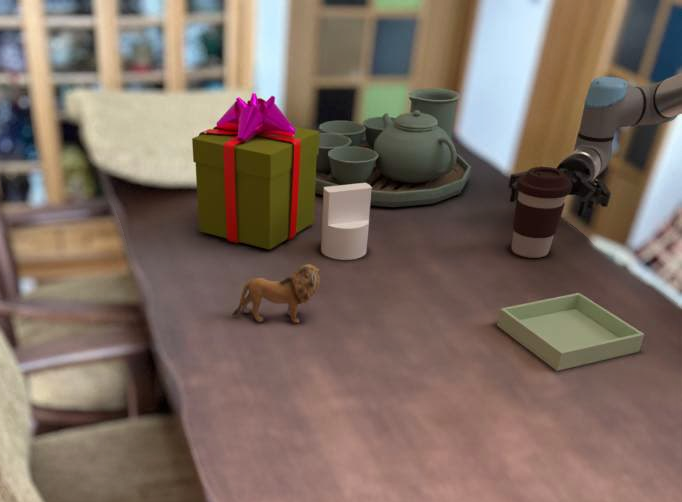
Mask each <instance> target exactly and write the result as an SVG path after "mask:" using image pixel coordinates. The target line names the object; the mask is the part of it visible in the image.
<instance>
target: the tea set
mask: <svg viewBox="0 0 682 502" xmlns="http://www.w3.org/2000/svg"><path fill="white" fill-rule="evenodd" d="M408 99H409V100H410V109H409V112H404V113H401V114H399V115H397V116H396V117H394V116H393V117H392V116H390V115H389V113H388V112H385V113H384V114H383V115H382V116H374V117H369V118H366V119H364V120H363V121H362V123H359V122H358V121H351V120H330V121H325V122H323V123H320V124H319V126H318V129H319V130H318V131H319V154H318V155H317V156H316V182H315V194H318V195H321V196H323V194H324V187H330V186H339V185H349V184H358V183H367V184H369V185H370V186H371V187H372V190H371V202H370V206H373V207H385V208H399V207H400V208H402V207H410V206H411V207H412V206H422V205H432V204H435V203H438V202H441V201H444V200H446V199H449V198H452V197H455V196H457V195H460V194H461V193H462V192H463V190H464V187H465V185H466V184H467V182H468V180H469V178H470V176H471V172H472V166H471V165H470V164H469V163H468V162H467V161H466V160H465V159H464V158H463V157H462V156H461V155H460V154H459V153H457V149H456V145H455V144H454V142H453V139H452V138H453V133H454V125H455V119H456V111H457V104H458V101H459V100H460V99H461V95H460V93H459V92H457V91H454V90H450V89H446V88H438V87H437V88H436V87H424V88H417V89H413V90H411V91H410V92H409V96H408ZM364 134H365V137H364Z"/></svg>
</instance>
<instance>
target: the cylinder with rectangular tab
mask: <svg viewBox="0 0 682 502" xmlns="http://www.w3.org/2000/svg"><path fill="white" fill-rule="evenodd" d="M371 190H372V187H371V186H370V185H369V184H367V183H358V184H349V185H339V186H330V187H324V194H323V195H322V196H323V197H322V198H323V199H322V219H321V240H320V241H321V242H320V252H321V253H322V254H323V255H324V256H325V257H328V258H329V259H334V260H342V261H349V260H350V261H351V260H357V259H361V258H362V257H364V256H365V255H366V254H367V252H368V251H367V249H368V240H369V239H368V237H369V228H370V227H369V226H370V215H371V213H370V212H371V205H370V202H371Z"/></svg>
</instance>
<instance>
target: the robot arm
mask: <svg viewBox="0 0 682 502" xmlns="http://www.w3.org/2000/svg"><path fill="white" fill-rule="evenodd" d="M583 104H584V105H583V109H582V115H581V120H580V124H579V128H578V131H577V134H576V139H575V144H574V148H573V151H572V152H571V153H569V154H568V155H567V156H566V157H565V158H564V159H563V160H562V161H561V162H560V163H559V164H558V165H557V167H556V169H559V170H561V171H563V172H564V173H565V175H566V178H567V179H568V180H570V181H571V183H572V188H571V192H570V194H569V195H568V196H574V195H575V196H576V197H581V198H582V199H581V201H580V204H579V209H578V212H577V216H578V217H582V216H583V215H584V214H585V213H586V212H587V211H588V210H589V209H595V207H598V205H600V206H601V207H603V208H607V207H608V206H609V202H610V199H611V195H612V192H611V191H610V189H609V188H608V187H607V185H606V183H605V178H604V177H598V176H599V175H601V174H602V173H603V172H604V171H605V170H606V169H607V167H608V166H609V165H610V162H611V160H612V157H613V154H614V151H613V150H614V149H613V141H614V139H615V135H616V133H617V129H618V128H629V127H637V126H649V125H654V126H655V125H662V124H665V123H669V122H673V121H674V120H675V119H676V118H677V117H678V116H679V115H682V72H680V73H678V74H675V75H672V76H670V77H667V78H665V79H663V80H661V81H659V82H658V81H657V82H656V83H653V84H650V85H642V86H628V82H627V80H626V79H623V78H621V77H616V76H599V77H596V78H594V79H592V81H591V82H590V84H589V87H588V89H587V93H586V96H585V99H584V103H583ZM540 167H543V166H542V165H541V166H540ZM527 172H528V170H527V171H526V170H525V171H521V172H517V173H513V174H510V178H509V183H508V188H509V189H511V191H510V192H511V193H510V198H509V203H515V202H516V200H517V197H518V194H519V190H518V189H517V188H516V185H517V180H518V178H519V177H520V176H521V175H524V174H526V173H527ZM597 177H598V178H597Z"/></svg>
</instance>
